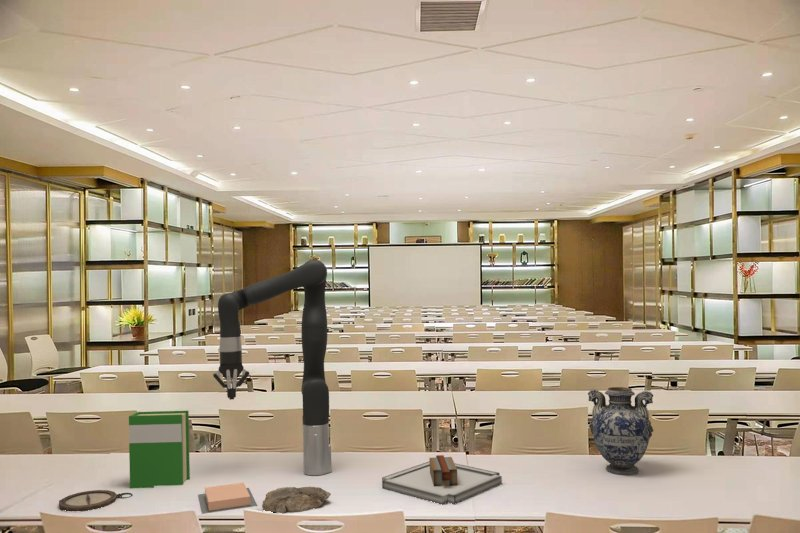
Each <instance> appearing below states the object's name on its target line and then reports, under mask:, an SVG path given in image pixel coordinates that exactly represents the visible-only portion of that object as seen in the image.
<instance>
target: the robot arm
mask: <svg viewBox="0 0 800 533" xmlns="http://www.w3.org/2000/svg"><path fill="white" fill-rule="evenodd" d="M327 278H328V269H327V266H326V264H324V263H323V262H322V261H321V260H320V259H319V260H318V259H309V260H307V261H306V262H304V263H302V264H301V265H299V266H297V267H296V268H294V269H291V270H290V271H288V272H285V273H282V274H280V275H277V276H274V277H271V278H267V279H264V280H261V281H259V282H255V283H253V284H250V285H248V286H245V288H241V289H239V290H235V291H232V292H228V293H224V294H222V295H220V297H219V299H218V300H217V311H218V317H219V337H220V338H219V348H218V349H219V367H218V370H217V371H216V372H213V374H212V376H213V378H214V379H215V380H216V381H217V382H218V383H219V385H220V386H221V387H222V388H223V389H224V388H225V389H226V392H227V393H226V397H227V398H228V399H229V401H231V400H235V398H236V397H237V388H239V387H241V386H242V385H243V383H244V382H245V381H246V379H247V378H248V376H249V375H250V372H249V371H248V370H247V369H245V368H244V366H243V355H242V353H243V350H242V349H243V347H242V344H243V342H242V338H241V336H242V335H241V323H240V320H239V311H241V310H243V309H246V308H247V307H250V306H254V305H258V304H260V303H264V302H265V301H268V300H271V299H273V298H276V297H278V296H280V295H282V294H285V293H286V292H289V291H292V290H294V289H299V288H303V289H304V290H303V291H304V301H303V302H304V303H303V310H302V316H301V317H302V318H301V348H302V350H301V351H302V356H303V374H302V382H301V396H302V448H303V449H302V450H303V451H302V452H303V454H302V455H303V456H302V457H303V474H305V475H307V476H321V475H327V474H329V473H332V446H331V444H330V417H329V416H330V391H329V386H328V385H327V383H326V375H325V357H326V352H327V345H328V316H327V315H328V314H327V308H326V284H327ZM240 375H241V377H240ZM221 376H223V378H224V379H225V382H226V383H225V382H224V381H223V380H222V379H221ZM238 377H240V378H239V379H238Z"/></svg>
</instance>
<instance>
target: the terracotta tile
mask: <svg viewBox="0 0 800 533" xmlns="http://www.w3.org/2000/svg"><path fill="white" fill-rule="evenodd" d="M246 488H247V487H246V485H245V483H244V482H238V483H230V484H222V485H216V486H207V487H204V494H205V498H206V502H207V506H208V510H209V511H215V510H222V509H229V508H236V507H242V506H249V505H250V495H249V493H248V491H247V489H246Z"/></svg>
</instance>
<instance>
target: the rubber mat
mask: <svg viewBox="0 0 800 533" xmlns="http://www.w3.org/2000/svg"><path fill="white" fill-rule="evenodd" d="M246 489H247V491H248V493H249V495H250V505H249V506H242V507H236V508H229V509H222V510H215V511H209V510H208V506H207V502H206V498H205V493H201V494H200V493H199V494H197V497H198V501H199V507H200V512H201V514H202V515H204V514H210V513H211V514H212V513H217V512H225V511H232V510H238V509H245V508H246V509H247V508H253V507H258V504H257V502H256V499H255V497H254V496H253V493H252V491H251V489H250V488H249V487H246Z"/></svg>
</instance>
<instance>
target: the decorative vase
mask: <svg viewBox="0 0 800 533" xmlns="http://www.w3.org/2000/svg"><path fill="white" fill-rule="evenodd" d="M587 395H588V399H587V400H588V402H592V403H593V404H594V405H593V408H592V411H591V414H592V417H591V421H590V422H589V425H588V427H589V429H590V433H591V435H593V440H594V442H595V445H596V447H597V450H598V452H599V453H600V455H601V456H602V458H603V459H604V460H606V462H608V463H609V464H607V465H606V466H605V467H606V468H605V470H606V471H607V472H609V473H611V474H613V475H614V474H615V475H625V476H631V475H637V474H638V473H640V470H639V468H638V467H637V466H636V464H637V463H638V462H640V461H641V459H642V458H643V457H644V455H645V453H646V451H647V449H648V446H649V443H650V438H651V437H652V436H653V433H654V429H653V426H652V422H651V420H649V419H650V414H649V413H650V412H649V410H648V408H647V407H648V405H649V404H653V403H654V401H653V397H654V394H653V393H652V391H649V390H643V391H640V392H639V393H637V394H636V393H635V392H634V391H633V390H632V388H630V387H624V386H623V387H621V386H619V387H618V386H613V387H608V388H607V390H606V391H604V394H603V392H601V391H599V390H598V389H592V390H591V389H589V392H588V393H587ZM605 395H607V396H608V403H609V404H607V402H606V396H605ZM633 396H635V397H634V405H632V402H633V401H632V397H633ZM643 401H644V402H643Z"/></svg>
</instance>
